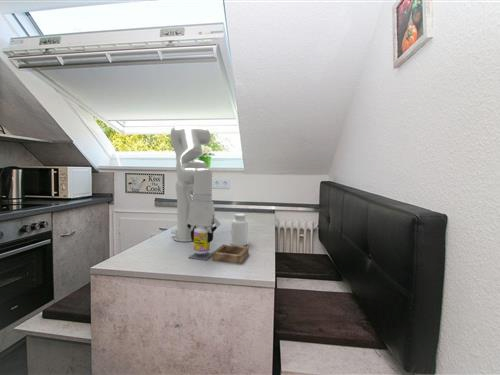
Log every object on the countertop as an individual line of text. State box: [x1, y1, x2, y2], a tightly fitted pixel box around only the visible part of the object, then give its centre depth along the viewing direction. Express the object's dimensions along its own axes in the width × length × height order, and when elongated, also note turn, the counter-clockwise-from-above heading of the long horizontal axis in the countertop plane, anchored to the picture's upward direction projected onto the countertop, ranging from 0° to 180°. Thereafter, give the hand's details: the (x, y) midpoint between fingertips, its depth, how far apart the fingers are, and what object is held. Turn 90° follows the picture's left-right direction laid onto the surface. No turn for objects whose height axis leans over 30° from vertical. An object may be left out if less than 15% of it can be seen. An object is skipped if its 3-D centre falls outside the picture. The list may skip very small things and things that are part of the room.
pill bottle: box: [230, 213, 249, 247], centre depth 116 cm, size 8×8×15 cm
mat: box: [188, 251, 213, 261], centre depth 98 cm, size 8×8×1 cm
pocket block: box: [211, 244, 250, 265], centre depth 98 cm, size 12×12×3 cm
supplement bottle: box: [193, 226, 211, 254], centre depth 98 cm, size 7×7×13 cm
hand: (201, 240), depth 98 cm, fingers closed on supplement bottle, 6 cm apart
